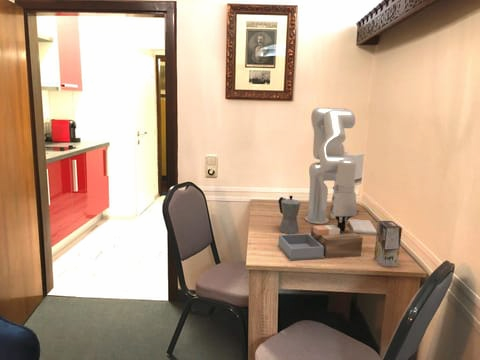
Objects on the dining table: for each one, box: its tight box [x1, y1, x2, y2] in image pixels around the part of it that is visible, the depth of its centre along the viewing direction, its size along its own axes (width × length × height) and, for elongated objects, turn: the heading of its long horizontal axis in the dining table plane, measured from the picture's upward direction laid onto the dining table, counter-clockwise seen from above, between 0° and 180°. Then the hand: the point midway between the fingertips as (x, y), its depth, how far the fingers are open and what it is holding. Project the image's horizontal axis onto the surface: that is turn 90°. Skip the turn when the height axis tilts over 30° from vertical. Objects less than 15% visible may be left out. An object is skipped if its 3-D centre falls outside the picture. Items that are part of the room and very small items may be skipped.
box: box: [277, 233, 324, 262], centre depth 163 cm, size 16×14×5 cm
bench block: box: [310, 226, 363, 259], centre depth 167 cm, size 16×16×8 cm
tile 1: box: [312, 224, 329, 235], centre depth 164 cm, size 5×5×2 cm
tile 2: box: [324, 224, 340, 235], centre depth 165 cm, size 5×5×2 cm
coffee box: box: [373, 220, 403, 267], centre depth 155 cm, size 9×6×16 cm
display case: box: [332, 151, 365, 216], centre depth 218 cm, size 11×11×35 cm
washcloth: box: [347, 218, 377, 235], centre depth 197 cm, size 12×18×3 cm, turn 174°
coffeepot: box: [278, 195, 301, 235], centre depth 189 cm, size 15×9×18 cm, turn 34°
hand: (341, 230), depth 166 cm, fingers closed
